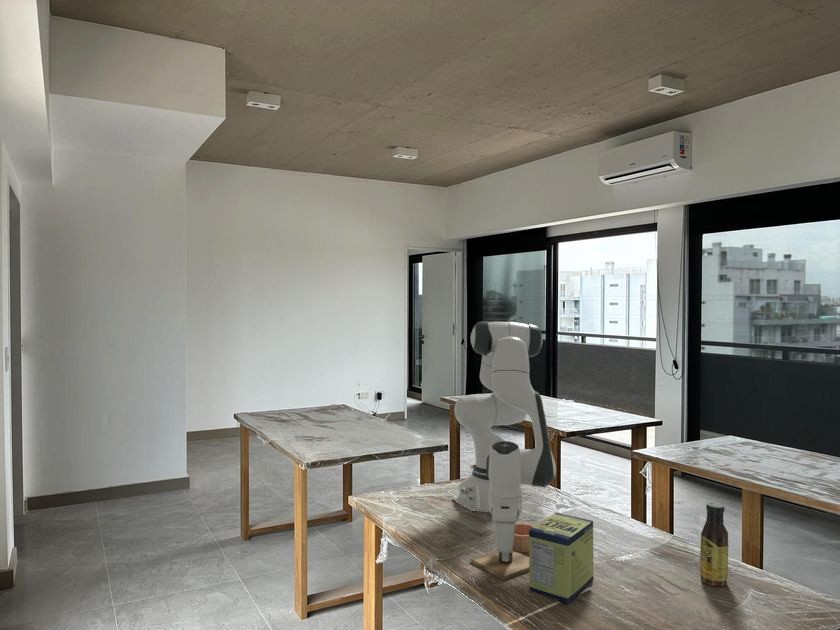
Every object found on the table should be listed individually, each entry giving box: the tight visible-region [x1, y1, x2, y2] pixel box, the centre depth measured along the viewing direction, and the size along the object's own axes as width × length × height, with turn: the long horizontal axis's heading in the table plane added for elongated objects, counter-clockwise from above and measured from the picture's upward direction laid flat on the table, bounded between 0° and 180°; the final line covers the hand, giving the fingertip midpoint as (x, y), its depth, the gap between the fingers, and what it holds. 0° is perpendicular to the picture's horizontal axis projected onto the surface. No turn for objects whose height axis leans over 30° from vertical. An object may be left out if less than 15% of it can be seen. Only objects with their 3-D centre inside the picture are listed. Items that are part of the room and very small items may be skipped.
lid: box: [470, 549, 529, 580], centre depth 163 cm, size 13×13×5 cm
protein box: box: [528, 512, 594, 605], centre depth 151 cm, size 10×16×16 cm
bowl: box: [513, 522, 535, 553], centre depth 176 cm, size 10×10×5 cm
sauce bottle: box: [699, 501, 729, 587], centre depth 153 cm, size 7×6×20 cm
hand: (505, 555), depth 163 cm, fingers open, 4 cm apart
